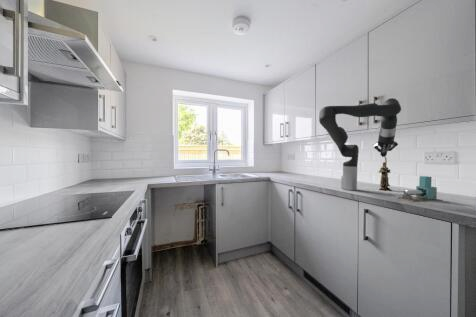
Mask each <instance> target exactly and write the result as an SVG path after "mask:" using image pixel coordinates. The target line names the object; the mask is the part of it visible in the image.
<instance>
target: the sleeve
mask: <svg viewBox="0 0 476 317" xmlns="http://www.w3.org/2000/svg"><path fill="white" fill-rule="evenodd" d="M432 178H433V177H432V176H428V175H426V176H425V175H424V176H423V175H419V179H418V181H419V182H418V183H419V184H418V185H416V187H415V188H416V189H415V190H423V189H426V196H424V195H415V197H420V198H425V199H434V188H432V187H433V186H432Z"/></svg>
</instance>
